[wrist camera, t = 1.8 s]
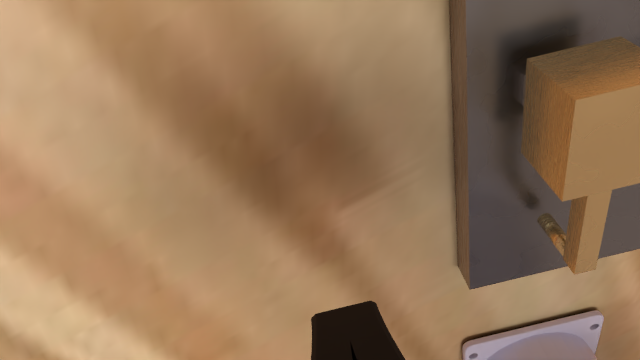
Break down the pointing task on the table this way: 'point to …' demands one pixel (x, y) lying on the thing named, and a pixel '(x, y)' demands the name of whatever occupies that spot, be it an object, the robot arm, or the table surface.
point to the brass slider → (583, 137)
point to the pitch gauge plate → (520, 133)
